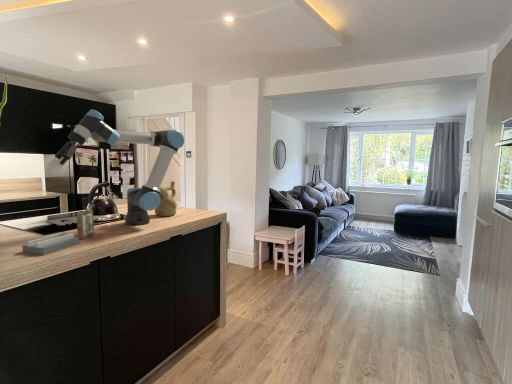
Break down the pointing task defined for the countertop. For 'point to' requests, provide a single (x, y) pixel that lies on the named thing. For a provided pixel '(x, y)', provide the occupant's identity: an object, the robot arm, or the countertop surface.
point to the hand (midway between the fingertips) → (52, 169)
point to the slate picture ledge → (50, 244)
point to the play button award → (66, 221)
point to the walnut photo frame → (85, 224)
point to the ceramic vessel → (167, 202)
